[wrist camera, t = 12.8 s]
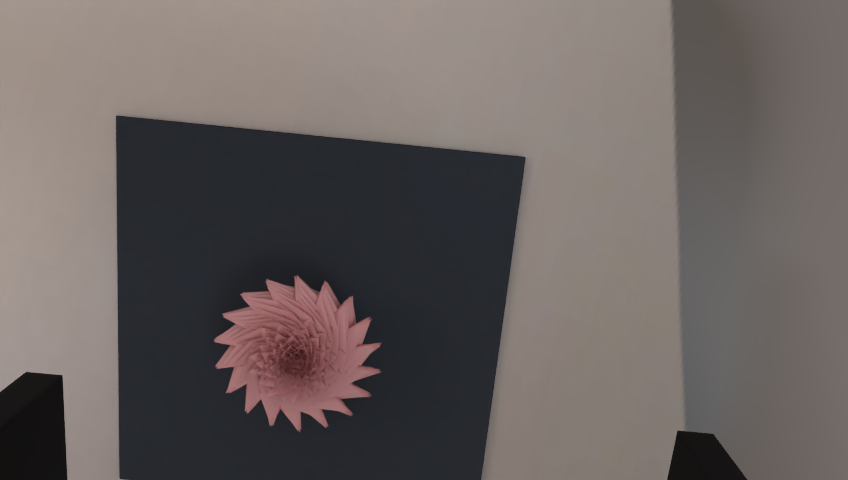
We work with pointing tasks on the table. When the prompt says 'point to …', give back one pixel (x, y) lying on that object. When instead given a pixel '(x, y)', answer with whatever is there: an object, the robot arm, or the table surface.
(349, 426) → the mat
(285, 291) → the flower
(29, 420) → the robot arm
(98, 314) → the table surface
